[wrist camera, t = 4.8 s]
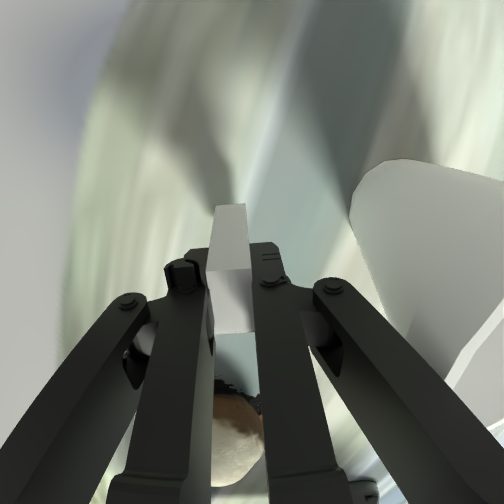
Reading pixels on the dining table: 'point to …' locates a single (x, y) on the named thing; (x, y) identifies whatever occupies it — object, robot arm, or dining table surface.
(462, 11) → the dining table surface
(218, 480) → the white and brown lump
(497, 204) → the foam cup
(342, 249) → the dining table surface
